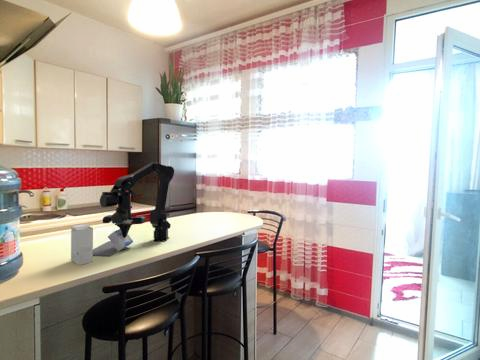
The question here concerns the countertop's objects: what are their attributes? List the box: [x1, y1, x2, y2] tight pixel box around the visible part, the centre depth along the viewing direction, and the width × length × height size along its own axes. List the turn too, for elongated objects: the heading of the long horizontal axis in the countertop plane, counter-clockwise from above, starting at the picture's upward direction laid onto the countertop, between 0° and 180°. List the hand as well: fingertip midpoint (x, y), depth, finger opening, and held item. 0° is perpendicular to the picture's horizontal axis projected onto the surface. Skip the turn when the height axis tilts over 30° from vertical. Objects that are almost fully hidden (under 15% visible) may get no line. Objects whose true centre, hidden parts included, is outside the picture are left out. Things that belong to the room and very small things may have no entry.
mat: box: [93, 240, 119, 257], centre depth 135 cm, size 12×20×1 cm, turn 175°
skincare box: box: [70, 224, 94, 266], centre depth 118 cm, size 8×6×15 cm
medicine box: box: [107, 228, 134, 252], centre depth 135 cm, size 8×4×9 cm
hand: (125, 237), depth 134 cm, fingers closed
